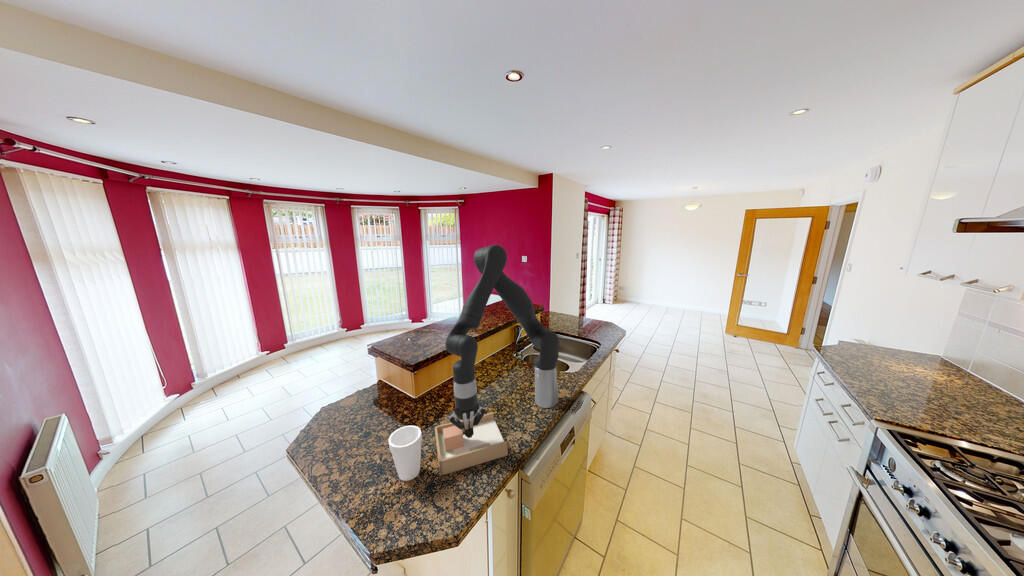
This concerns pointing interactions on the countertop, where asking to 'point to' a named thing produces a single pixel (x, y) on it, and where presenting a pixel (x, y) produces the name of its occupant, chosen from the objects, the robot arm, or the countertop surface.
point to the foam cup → (406, 451)
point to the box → (471, 446)
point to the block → (453, 438)
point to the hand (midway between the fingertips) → (469, 436)
